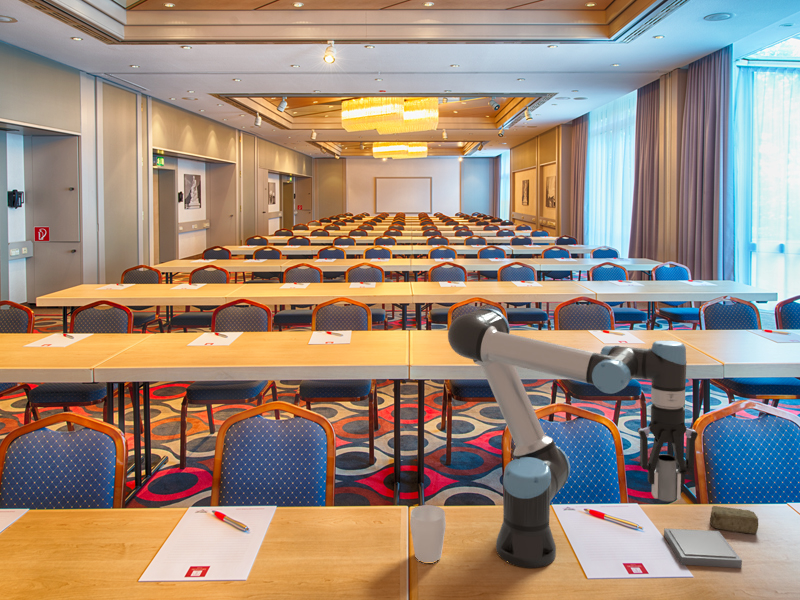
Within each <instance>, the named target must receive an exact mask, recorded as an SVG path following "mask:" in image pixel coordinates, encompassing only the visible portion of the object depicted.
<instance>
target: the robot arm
mask: <svg viewBox="0 0 800 600" xmlns="http://www.w3.org/2000/svg"><path fill="white" fill-rule="evenodd" d="M510 329H511V327H510V323H509V321H508V319H507V318H506V317H505V315H504V314H502V312H501V311H498V310H496V309H494V308H480V309H476V310H474V311H471V312H469V313H464V314H461V315H459V316H458V317H456V318H455V319H454V320H453V321H452V322H451V324H450V326H449V328H448V331H447V341H448V342H449V345H450V347H451V349H452V350H453V352H455V353H456V354H457V355H460V357H463V358H466V359H469V360H473V363H474V364H475V365H478V366H480V367H481V368H482V370H483V373H484V375H485V378H486V379H487V382H488V384H489V387H490V389H491V392H492V394H493V396H494V399H495V401H496V403H497V405H498V407H499V410H500V412H501V415H502V417H503V419H504V421H505V424H506V426H507V428H508V431H509V433H510V435H511V438H512V440H513V442H514V444H515V449H514V450H513V451H514V452H513V456H514V459H511V461H509V462H508V463H507V464H506V465H505V468H504V471H503V479H502V484H503V496H502V497H503V500H502V501H503V503H502V505H503V509H502V510H503V512H502V513H503V514H502V515H503V516H502V517H503V520H502V524H501V526H500V530H499V531H498V534H497V537H496V542H495V543H496V544H495V547H496V548H495V551H496V550H497V551H496V553H497V552H498V554H499V555H500V556H501V557H502V558H503V559H504V560H505V561H504V560H503V559H502V558H501V557H500V556H499V555H498V554H497V555H498V556H499V557H500V558H501V559H502V560H503V561H504V562H506V561H508V562H509V563H508V562H507V563H508V564H510V563H511V564H510V565H512V564H514V565H513V566H515V565H517V566H516V567H519V566H520V567H519V568H527V569H534V568H535V569H536V568H541V567H542V568H543V567H545V566H548V565H550V564H552V563H553V562H554V561H555V559H556V555H557V554H556V553H557V547H556V546H557V545H556V543H555V539H554V536H553V533H552V530H551V527H550V526H551V525H550V511H551V509H550V508H551V506H550V505H551V501H552V500H553V498H554V497H556V495H557V494H558V492H559V491H560V490H561V489H562V488H563V487H565V484H566V483H567V482H568V478H569V477H570V472H571V465H570V460H569V457H568V456H567V454H566V453H565V451H564V450H563V449H562V448H559V447H558V446H557V445H556V443H555V440H554V439H553V437H551V436H548V435H546V434H545V432H544V430H543V427H542V426H541V423H540V421H539V418H538V416H537V413H536V411H535V409H534V407H533V405H532V402H531V400H530V397H529V396H528V394H527V392H526V388H525V387H524V384H523V382H522V379H521V377H520V375H519V371H518V370H517V368H516V367H518V368H519V367H520V368H523V369H527V370H530V371H531V370H532V371H535V372H539V373H544V374H548V375H552V376H557V377H560V378H564V379H568V380H573V381H576V382H581V383H583V384H584V383H585V384H589V385H592V386H595V388H597V390H599V391H600V392H602V393H604V394H615V393H616V394H617V393H618V392H620V391H622V390H624V389H625V388H626V387H627V386H628V385H629V383H630V381H632V379H642V380H650V381H651V389H650V390H651V392H650V393H651V395H650V402H651V403H652V404H651V405H650V422H649V424H648V426H646V427H644V428H642V427H638V428H637V433H638V435H639V465H640V466H641V468H642V470H645V471H647V482H648V483H649V484H650V485H651V495H652V497H653V498H654V499H658V472H657V471H656V465H657V462H658V458H659V455H661V452H662V448H663V446H664V444H666V443H669V444H672V445H671V446H672V449H673V453H674V457H675V458H676V459H677V467H676V499H677V500H681V489H682V488H681V486H685V484H686V475H687V473H688V472H689V471H690V472H693V471H694V469H695V447H696V444H695V443H696V440H697V438H698V432H697V431H696V430H695V429H694V428H688V427H687V425H686V424H685V419H686V418H685V417H686V416H685V413H686V411H685V410H686V408H685V407H684V406H685V404H686V380H687V379H686V378H687V351H686V349H687V348H686V345H684V343H682V342H680V341H676V340H655V341H654V342H653V343H652V344H651V345H652V346H651V347H649V348H642V347H628V346H620V345H605V346H603V347H602V348H601V351H600V353H597V352H594V351H589V350H585V349H579V348H576V347H571V346H566V345H562V344H558V343H557V344H556V343H552V342H548V341H544V340H539V339H534V338H531V337H525V336H520V335H516V334H512V333H510V331H511V330H510ZM650 433H652V435H653V436H654V439H653V444H652V449H651V450H650V451H651V452H650V455H649V454H648V447H649V446H648V441H649V440H648V437H649V436H650ZM684 434H685V435H684ZM683 435H684V436H685V437H686V438H685V439H686V440H685V461H684V456H683V453H682V449H681V443H680V440H681V438H682V437H683ZM648 455H649V459H648Z"/></svg>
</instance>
